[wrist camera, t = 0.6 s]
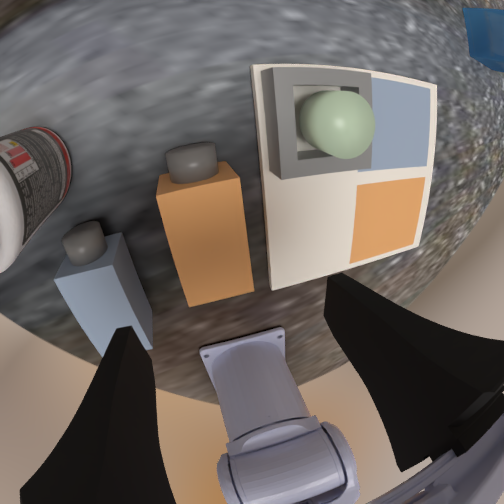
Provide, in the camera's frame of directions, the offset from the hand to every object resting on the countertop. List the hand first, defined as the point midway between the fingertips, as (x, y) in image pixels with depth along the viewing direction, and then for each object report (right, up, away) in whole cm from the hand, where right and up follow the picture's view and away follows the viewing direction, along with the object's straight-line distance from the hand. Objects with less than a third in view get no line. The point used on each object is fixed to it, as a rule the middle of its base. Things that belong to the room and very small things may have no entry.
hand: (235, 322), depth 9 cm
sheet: (+9, +8, +9) cm, 15 cm away
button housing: (+4, +11, +5) cm, 13 cm away
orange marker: (-3, +5, +8) cm, 10 cm away
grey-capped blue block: (-9, 0, +8) cm, 13 cm away
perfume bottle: (+26, +26, +4) cm, 37 cm away
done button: (+5, +10, +4) cm, 12 cm away
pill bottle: (-13, +8, +3) cm, 15 cm away
